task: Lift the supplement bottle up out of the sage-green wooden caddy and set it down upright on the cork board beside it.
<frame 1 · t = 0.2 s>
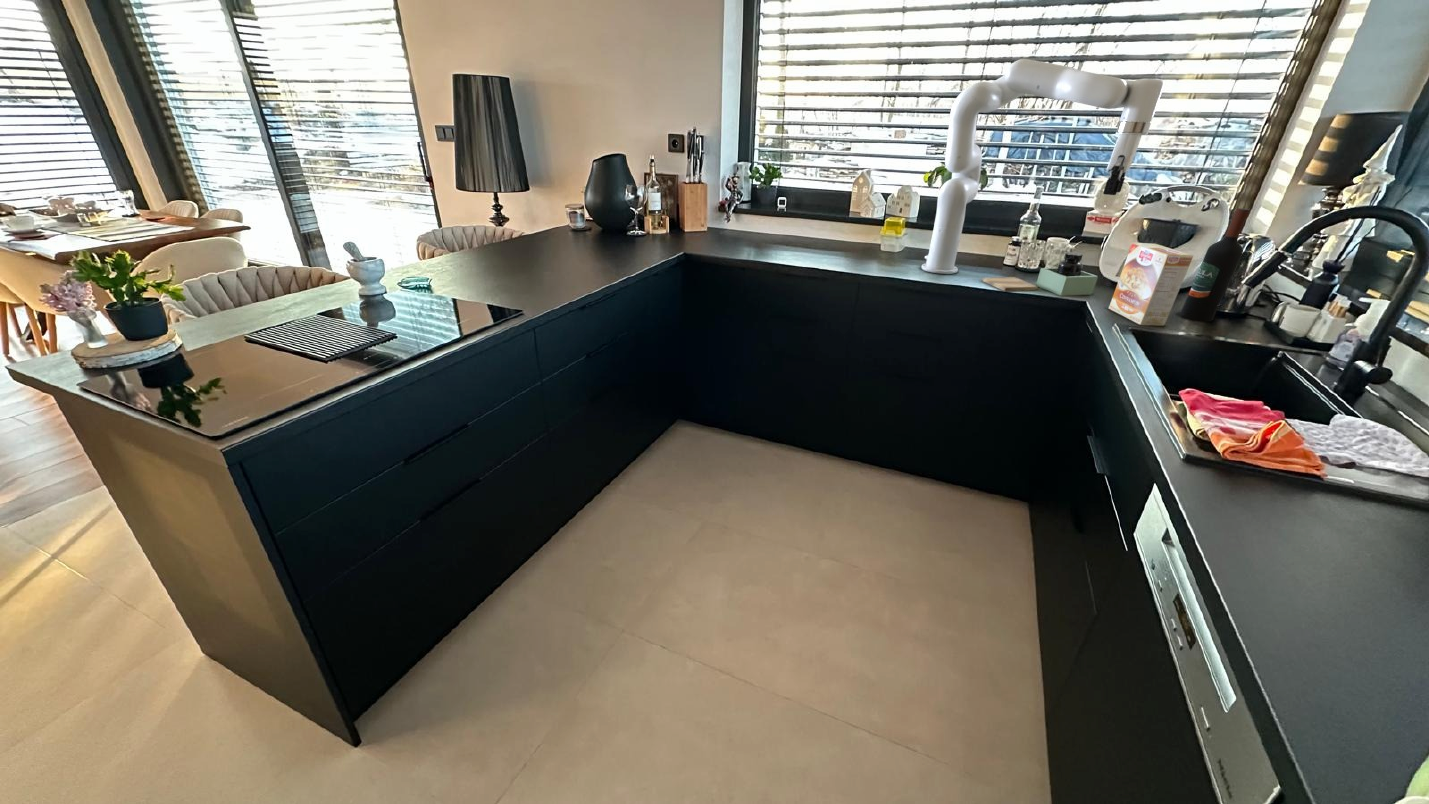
hand: (1111, 193, 165), 31 cm above the counter, tool pointing down, fingers open, 9 cm apart
wine bottle: (1195, 317, 161), on the counter
cork board: (1009, 285, 187), on the counter
caddy: (1063, 290, 184), on the counter
supplement bottle: (1062, 290, 184), resting in caddy
coffeecake box: (1134, 317, 160), on the counter
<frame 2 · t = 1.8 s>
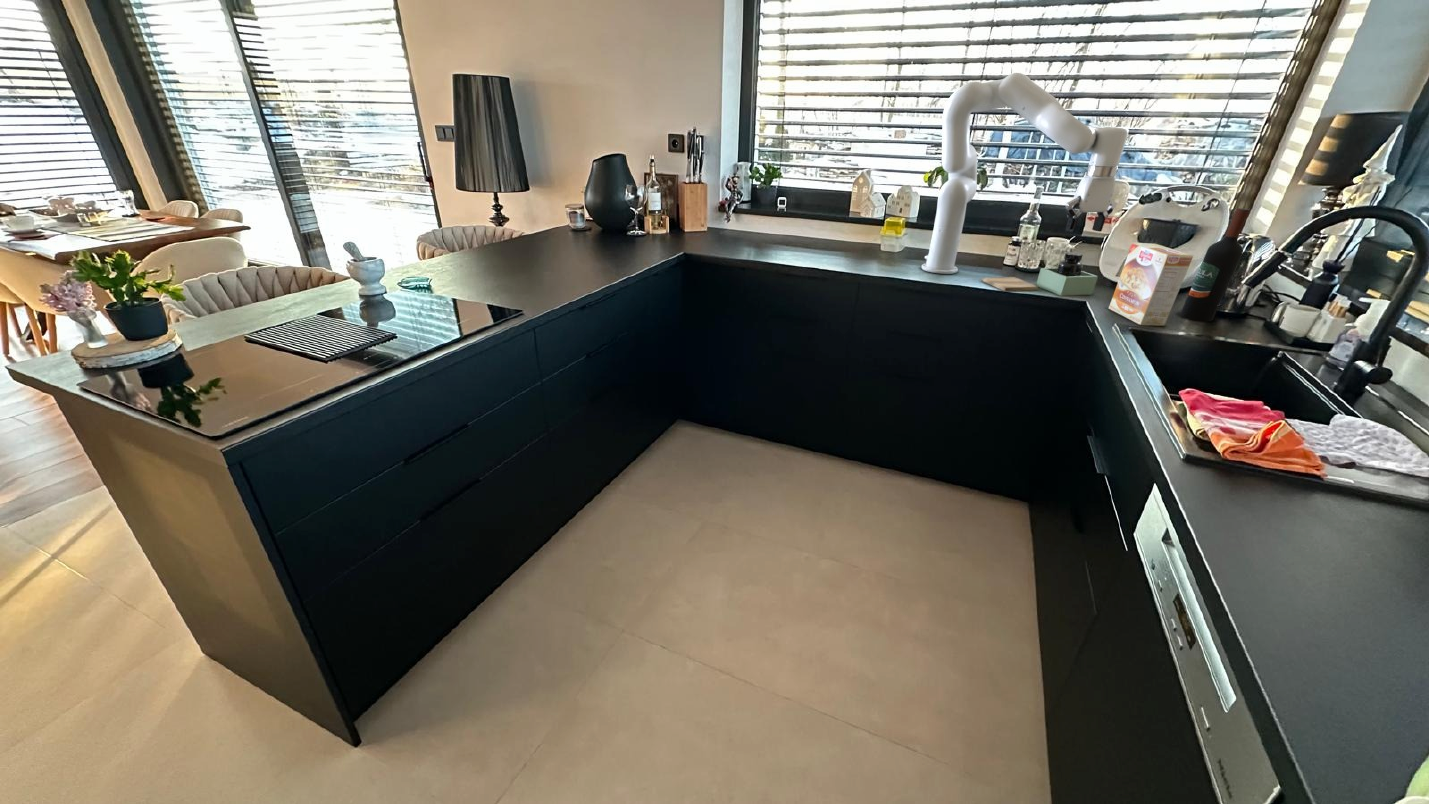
hand: (1083, 231, 175), 19 cm above the counter, tool pointing down, fingers open, 9 cm apart
nothing on the counter moved.
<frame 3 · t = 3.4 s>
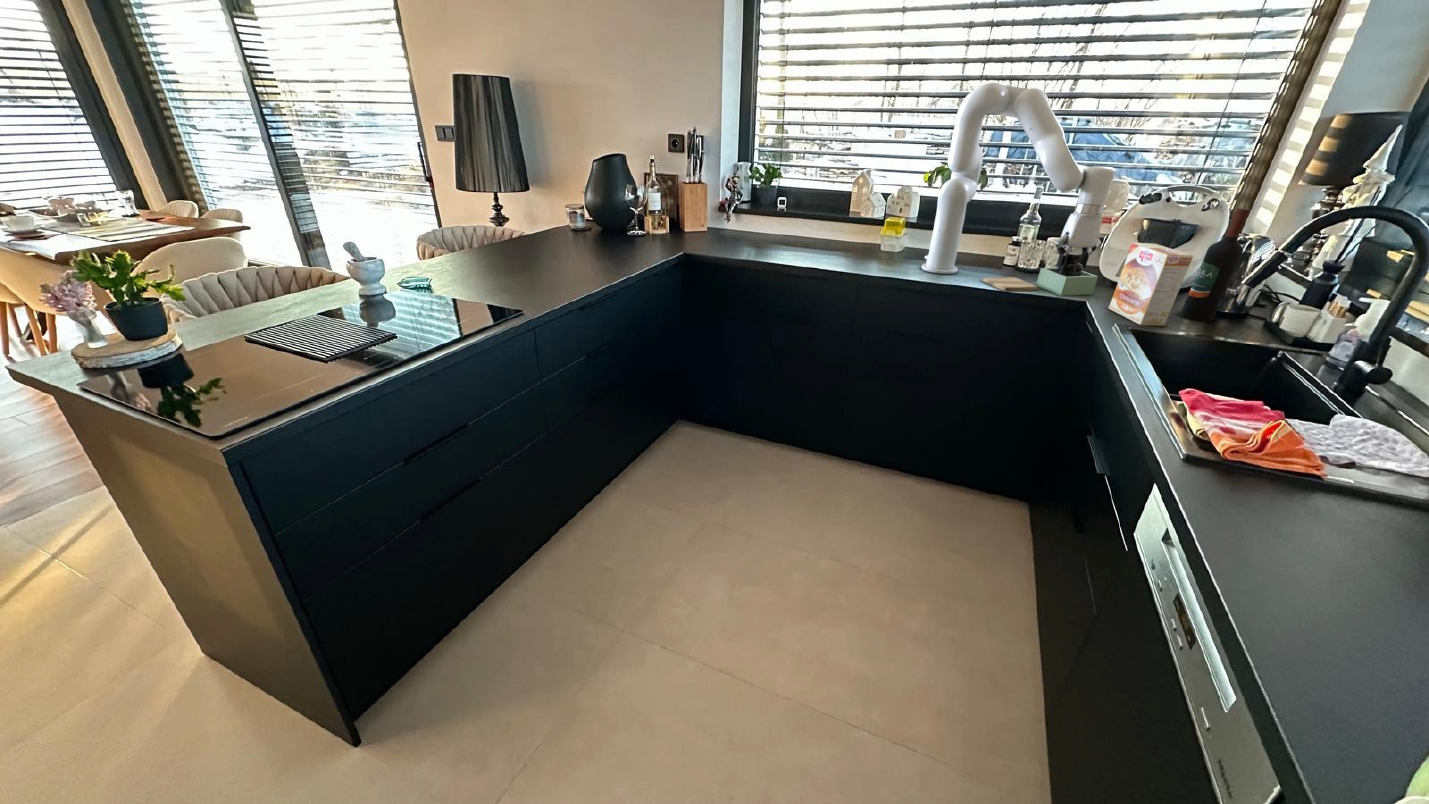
hand: (1070, 266, 180), 8 cm above the counter, tool pointing down, fingers closed on supplement bottle, 6 cm apart
supplement bottle: (1062, 290, 184), resting in caddy, touching gripper
everything else where it was.
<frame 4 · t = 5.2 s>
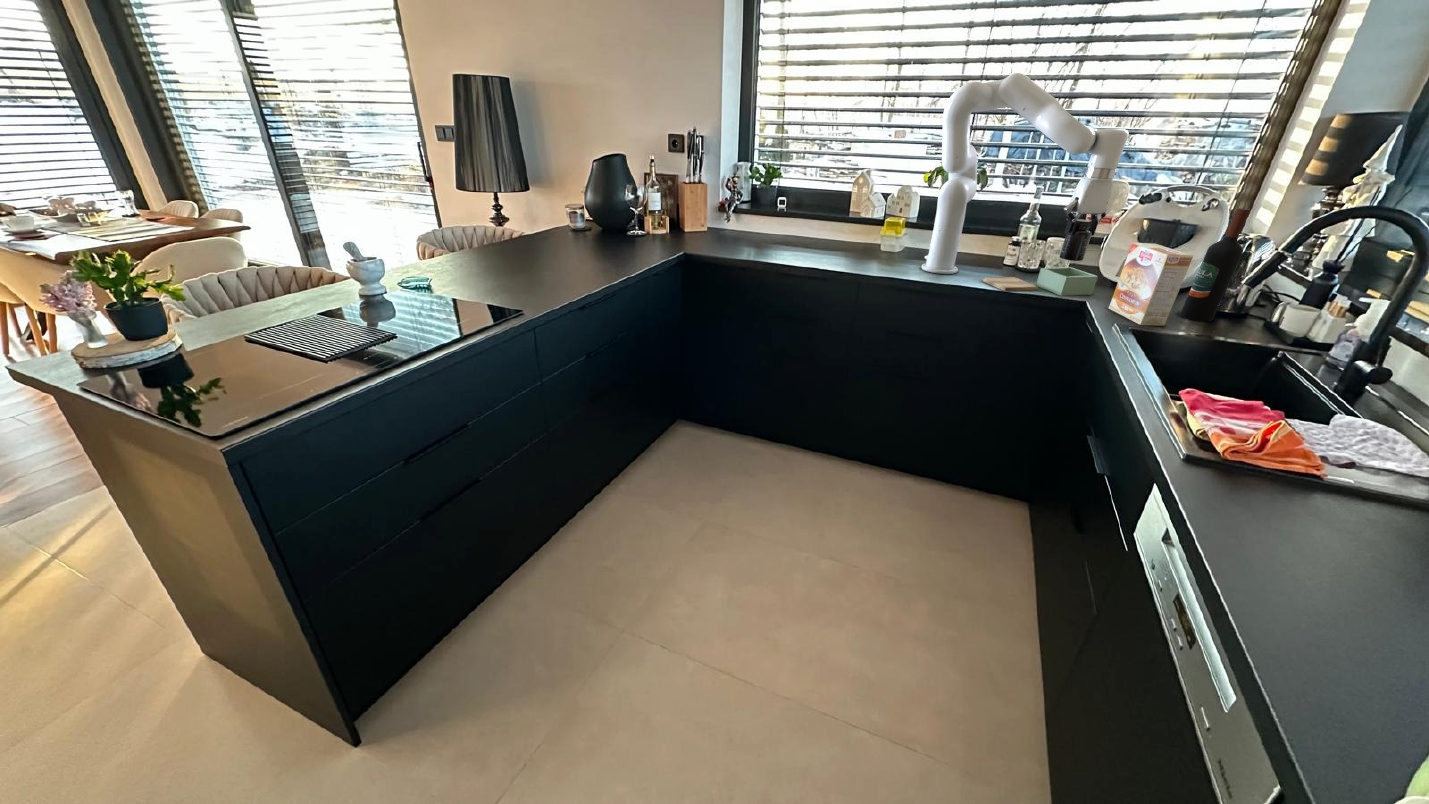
hand: (1079, 234, 176), 18 cm above the counter, tool pointing down, fingers closed on supplement bottle, 6 cm apart
supplement bottle: (1070, 259, 179), point 10 cm above the counter, touching gripper
everything else where it was.
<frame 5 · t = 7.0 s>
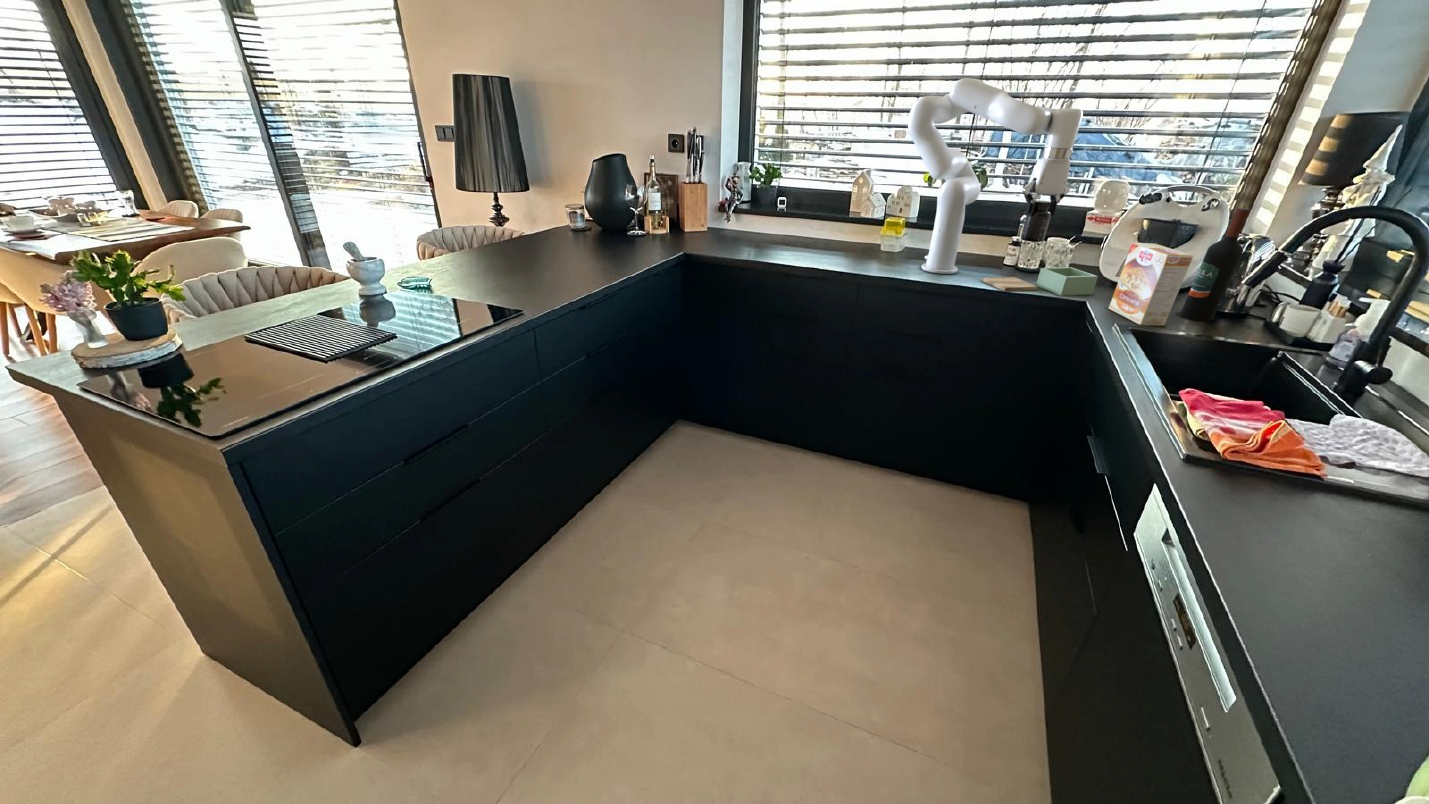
hand: (1038, 215, 176), 23 cm above the counter, tool pointing down, fingers closed on supplement bottle, 6 cm apart
supplement bottle: (1031, 240, 180), point 15 cm above the counter, touching gripper
everything else where it was.
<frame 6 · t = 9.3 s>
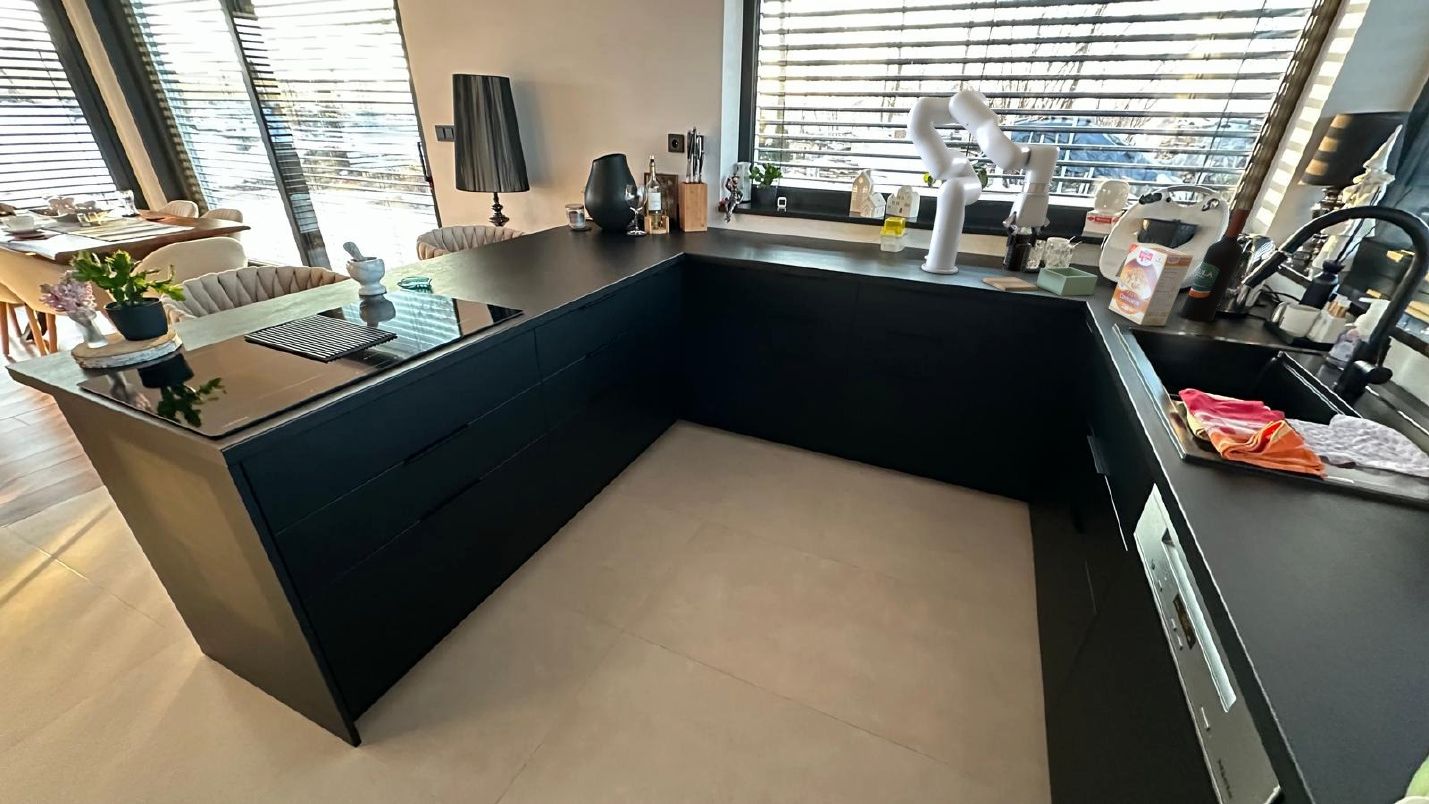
hand: (1020, 246, 181), 13 cm above the counter, tool pointing down, fingers closed on supplement bottle, 6 cm apart
supplement bottle: (1013, 270, 185), point 5 cm above the counter, touching gripper
everything else where it was.
when the fingers open (9 cm above the counter, at t = 10.8 s): supplement bottle stays where it is, resting on cork board.
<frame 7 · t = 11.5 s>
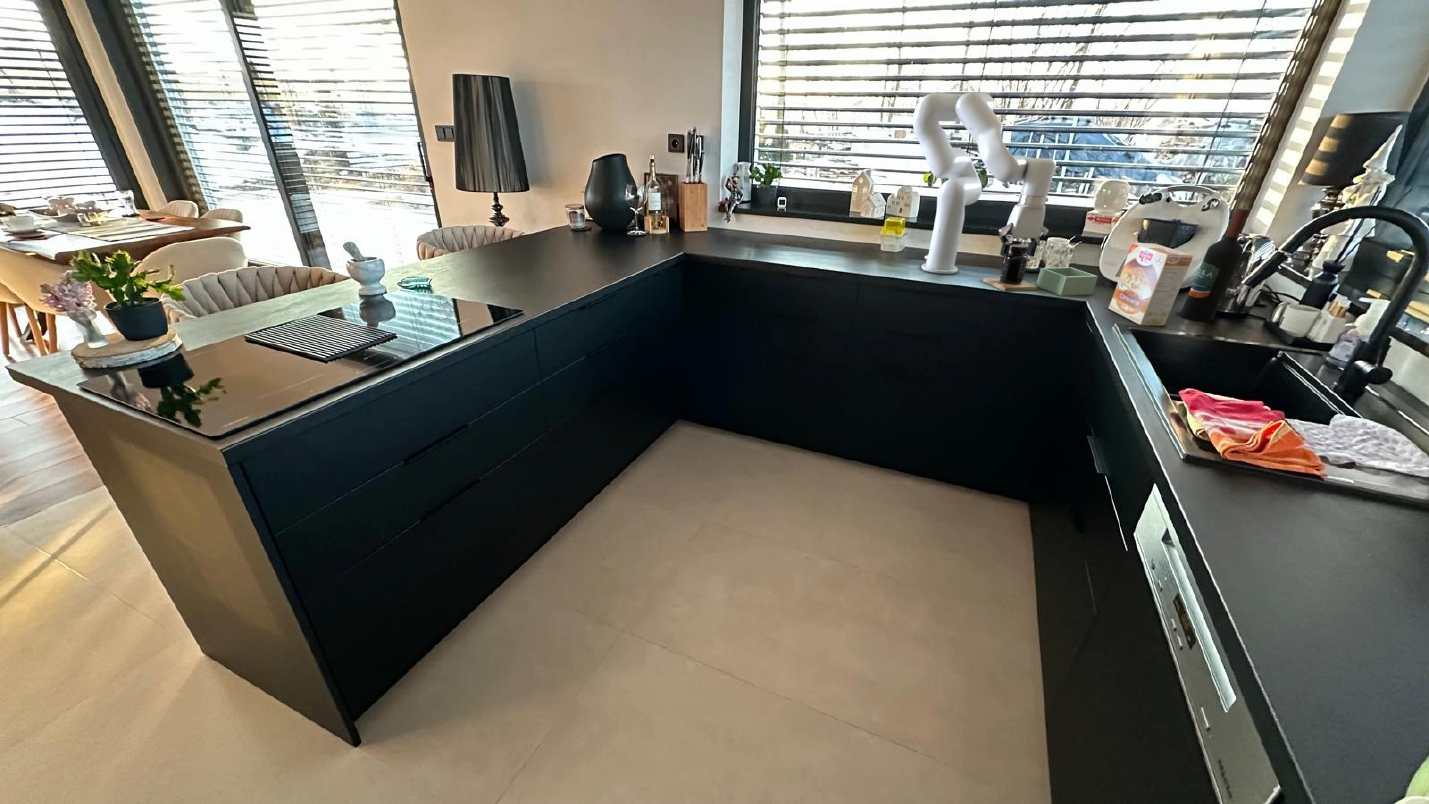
hand: (1016, 255, 183), 10 cm above the counter, tool pointing down, fingers open, 9 cm apart
supplement bottle: (1010, 282, 187), point 1 cm above the counter, touching cork board
everything else where it was.
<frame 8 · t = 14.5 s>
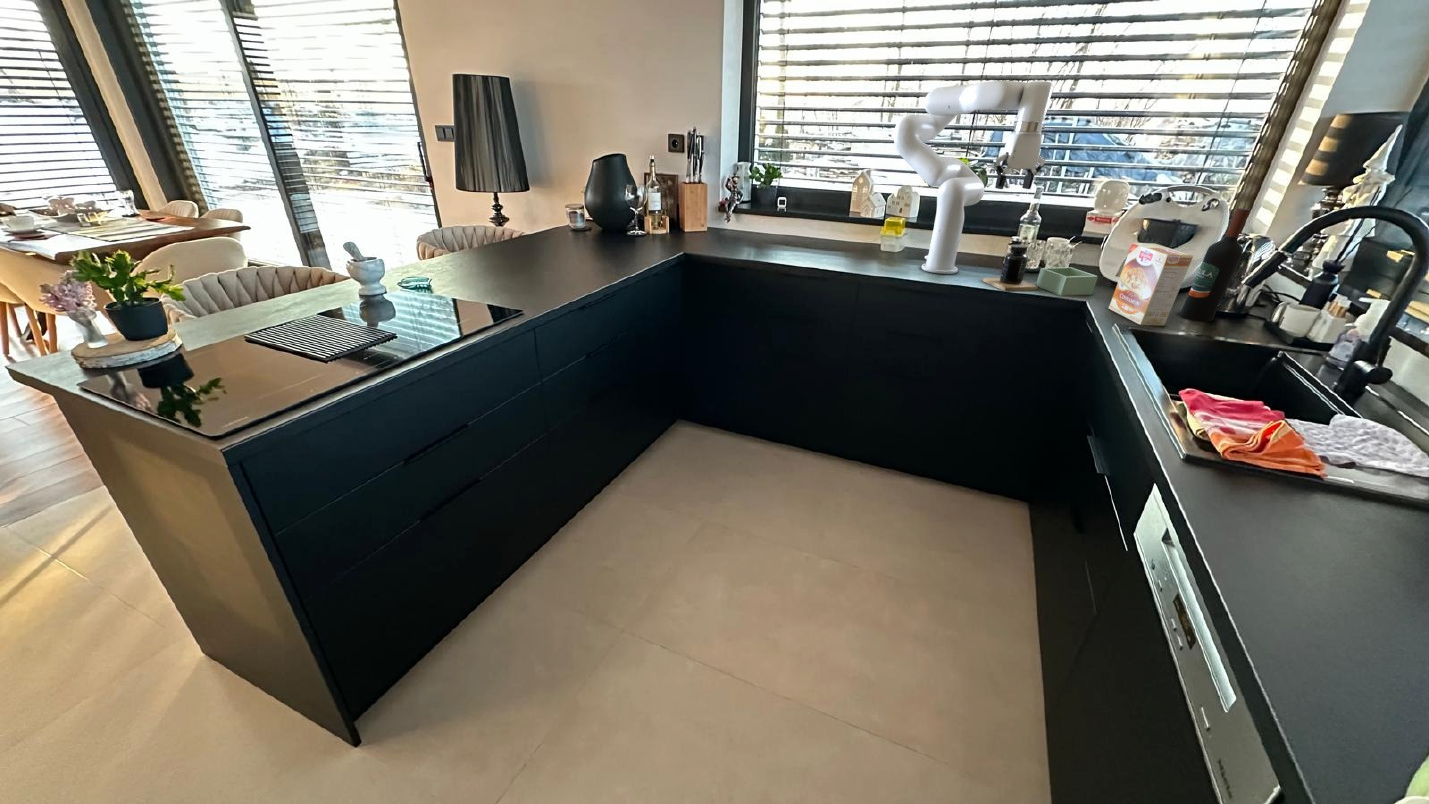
hand: (1012, 188, 176), 30 cm above the counter, tool pointing down, fingers open, 9 cm apart
nothing on the counter moved.
at the end: supplement bottle inside the target area (0.0 cm from its centre), point 1.0 cm above the counter; supplement bottle tilted 0°; supplement bottle touching cork board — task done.
